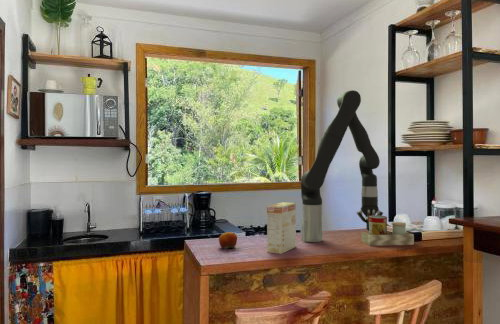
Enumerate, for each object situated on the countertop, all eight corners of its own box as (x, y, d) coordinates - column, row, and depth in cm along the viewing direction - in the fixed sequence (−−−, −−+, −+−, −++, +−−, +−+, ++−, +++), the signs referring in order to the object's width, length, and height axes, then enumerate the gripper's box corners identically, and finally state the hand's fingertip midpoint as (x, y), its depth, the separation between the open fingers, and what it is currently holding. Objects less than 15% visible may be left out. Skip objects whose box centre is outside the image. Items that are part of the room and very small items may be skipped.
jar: (395, 243, 167) (395, 224, 167) (390, 241, 173) (390, 222, 173) (408, 243, 167) (408, 223, 167) (402, 241, 173) (402, 221, 173)
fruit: (225, 248, 155) (221, 230, 158) (219, 254, 161) (215, 237, 164) (242, 246, 158) (238, 228, 162) (235, 252, 164) (231, 235, 168)
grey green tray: (369, 245, 164) (369, 235, 164) (361, 240, 174) (361, 231, 174) (413, 244, 165) (413, 234, 165) (403, 240, 175) (403, 230, 175)
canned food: (389, 244, 166) (389, 217, 166) (372, 244, 166) (372, 217, 166) (383, 240, 174) (383, 215, 174) (366, 240, 174) (366, 215, 174)
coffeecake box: (282, 245, 166) (281, 201, 166) (296, 246, 162) (296, 202, 163) (266, 252, 153) (266, 205, 153) (281, 254, 150) (281, 206, 150)
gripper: (358, 196, 176) (359, 232, 176) (386, 196, 177) (386, 232, 177) (353, 195, 184) (354, 229, 184) (379, 194, 184) (380, 229, 184)
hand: (369, 230), depth 180 cm, fingers closed
